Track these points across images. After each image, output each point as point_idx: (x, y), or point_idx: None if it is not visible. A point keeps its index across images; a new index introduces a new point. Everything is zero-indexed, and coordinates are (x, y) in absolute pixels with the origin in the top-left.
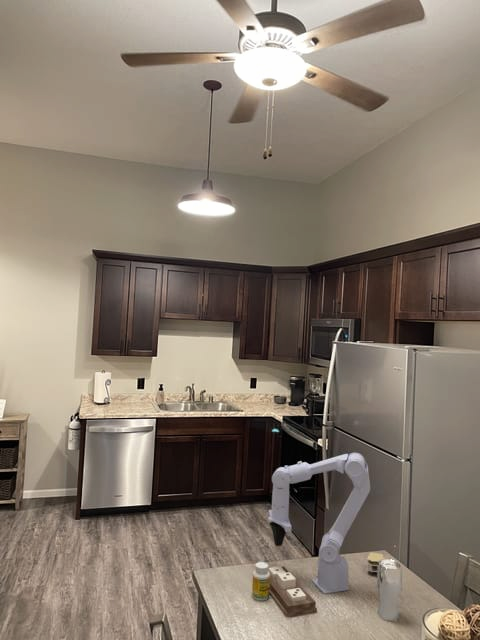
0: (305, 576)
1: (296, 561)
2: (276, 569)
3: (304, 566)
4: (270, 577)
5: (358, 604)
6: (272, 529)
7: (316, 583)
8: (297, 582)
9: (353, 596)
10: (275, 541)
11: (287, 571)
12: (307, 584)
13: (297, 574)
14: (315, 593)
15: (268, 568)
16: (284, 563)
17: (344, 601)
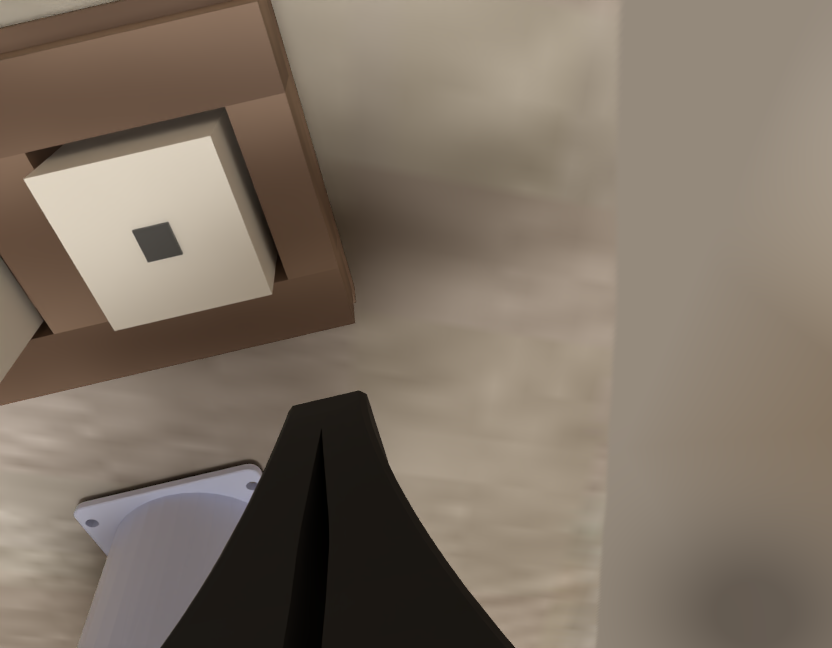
0: None
1: (581, 405)
2: (166, 238)
3: (494, 443)
4: (44, 124)
5: (3, 630)
6: (401, 640)
7: (200, 487)
8: (16, 393)
9: None
10: (288, 453)
11: (245, 338)
12: (209, 425)
13: (370, 383)
14: (74, 455)
15: (202, 136)
16: (569, 316)
17: (14, 581)
